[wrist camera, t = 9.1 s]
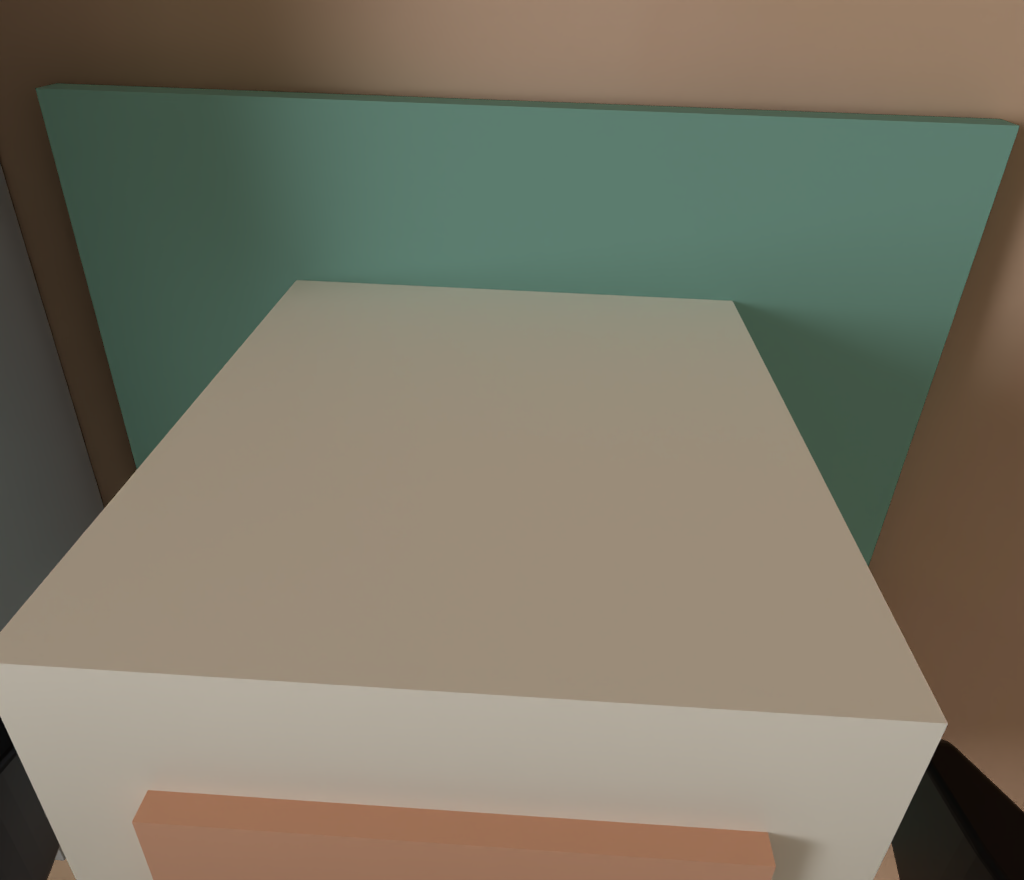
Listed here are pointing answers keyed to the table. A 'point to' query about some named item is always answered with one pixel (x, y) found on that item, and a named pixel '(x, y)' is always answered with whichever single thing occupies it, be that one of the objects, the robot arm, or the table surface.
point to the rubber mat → (536, 233)
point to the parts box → (472, 614)
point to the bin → (34, 435)
